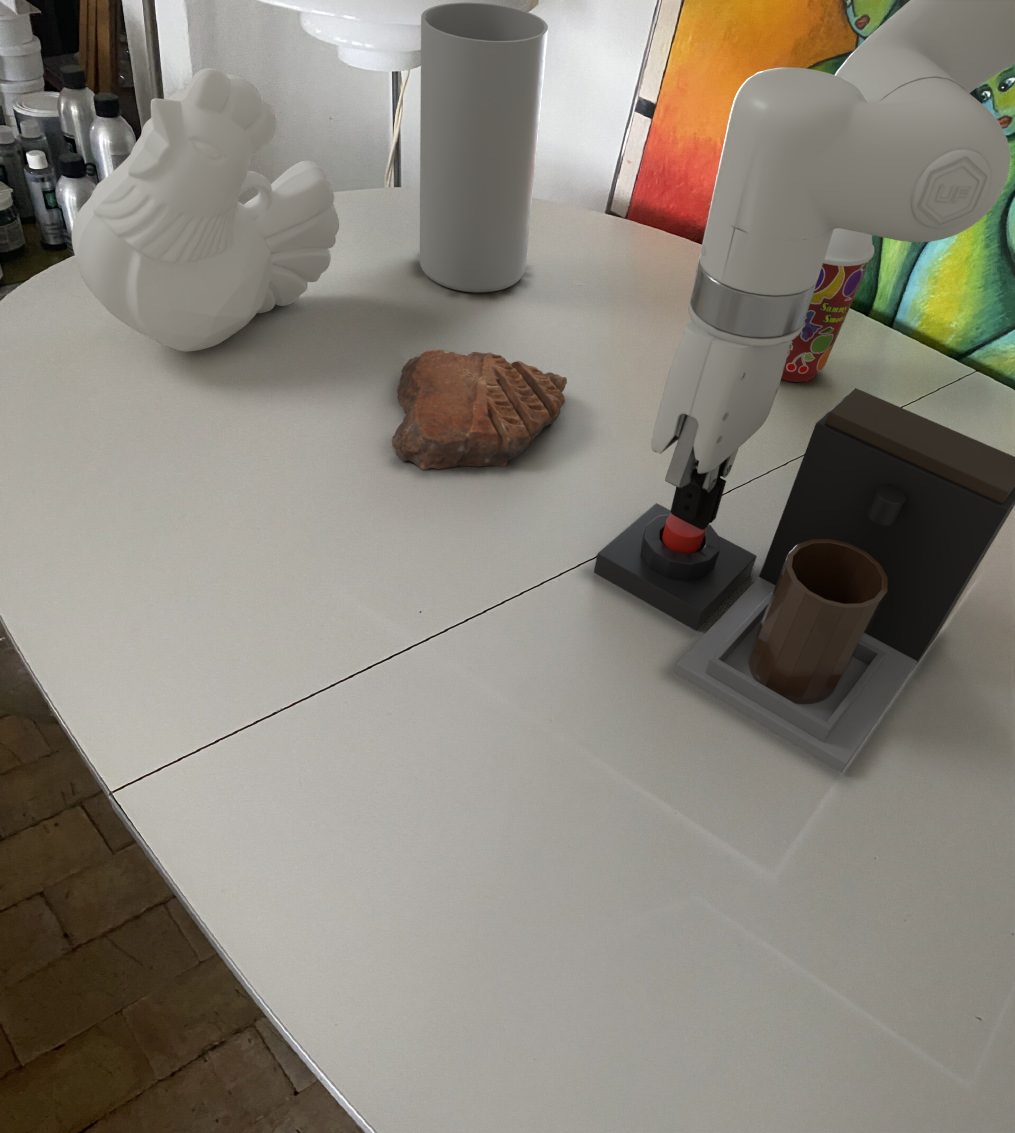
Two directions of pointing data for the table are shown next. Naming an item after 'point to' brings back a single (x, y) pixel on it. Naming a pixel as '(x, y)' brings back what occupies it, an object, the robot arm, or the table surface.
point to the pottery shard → (472, 409)
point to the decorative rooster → (203, 220)
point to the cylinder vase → (478, 142)
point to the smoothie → (829, 303)
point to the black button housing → (674, 569)
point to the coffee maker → (892, 537)
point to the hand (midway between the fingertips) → (692, 517)
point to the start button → (682, 536)
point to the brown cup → (816, 619)
